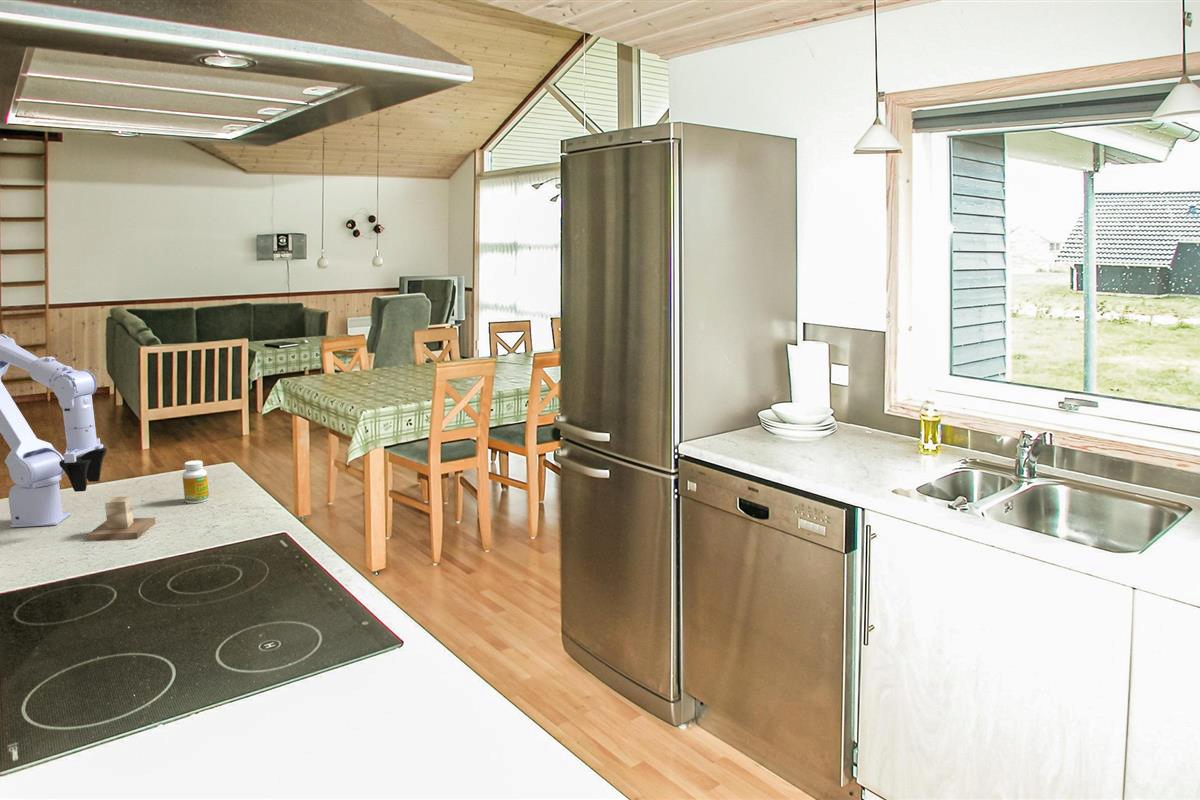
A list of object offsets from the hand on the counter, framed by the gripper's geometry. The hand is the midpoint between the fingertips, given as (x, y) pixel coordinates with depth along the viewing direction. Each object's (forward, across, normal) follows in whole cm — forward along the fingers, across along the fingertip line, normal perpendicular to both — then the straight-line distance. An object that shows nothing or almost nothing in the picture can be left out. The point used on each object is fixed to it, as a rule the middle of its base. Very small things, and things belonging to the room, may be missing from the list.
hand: (87, 486), depth 190 cm
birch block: (+8, -5, -8) cm, 12 cm away
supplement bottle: (+10, +16, -18) cm, 26 cm away
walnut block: (+10, -5, -8) cm, 14 cm away
